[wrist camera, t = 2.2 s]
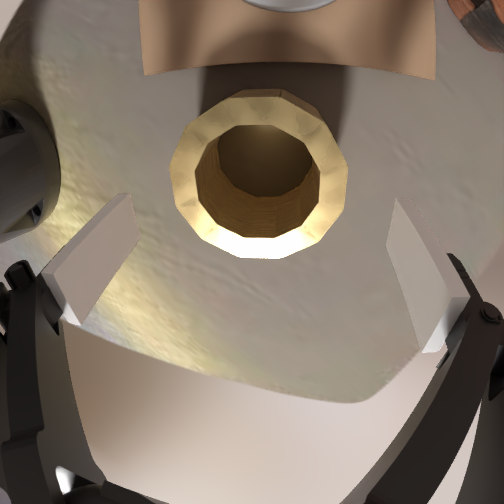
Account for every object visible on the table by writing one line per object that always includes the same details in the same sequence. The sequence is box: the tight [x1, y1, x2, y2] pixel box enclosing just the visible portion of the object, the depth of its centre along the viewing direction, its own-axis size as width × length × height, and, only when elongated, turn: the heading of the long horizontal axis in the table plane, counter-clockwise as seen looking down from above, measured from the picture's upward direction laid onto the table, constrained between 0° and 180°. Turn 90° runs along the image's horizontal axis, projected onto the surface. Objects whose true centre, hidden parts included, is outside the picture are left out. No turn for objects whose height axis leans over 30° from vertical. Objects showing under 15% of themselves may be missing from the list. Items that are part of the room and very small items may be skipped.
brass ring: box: [169, 89, 348, 258], centre depth 19 cm, size 10×10×6 cm
